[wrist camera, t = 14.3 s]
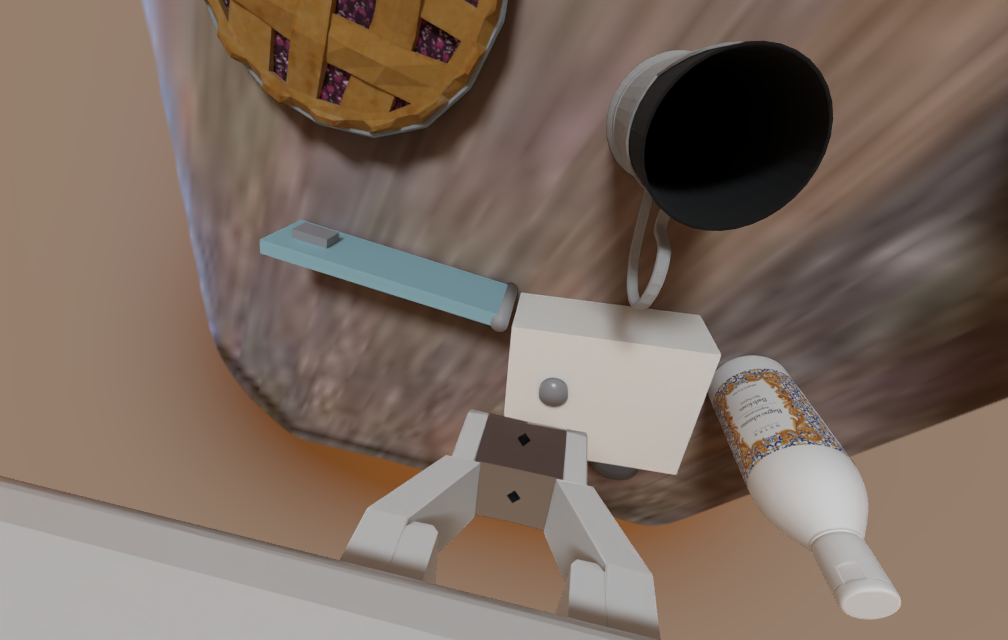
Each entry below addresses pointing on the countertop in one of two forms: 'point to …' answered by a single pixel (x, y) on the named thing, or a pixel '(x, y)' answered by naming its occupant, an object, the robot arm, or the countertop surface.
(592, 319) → the knobbed cream box
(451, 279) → the side door
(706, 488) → the countertop surface
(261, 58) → the pie
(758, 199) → the grey mug
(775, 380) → the bath foam
